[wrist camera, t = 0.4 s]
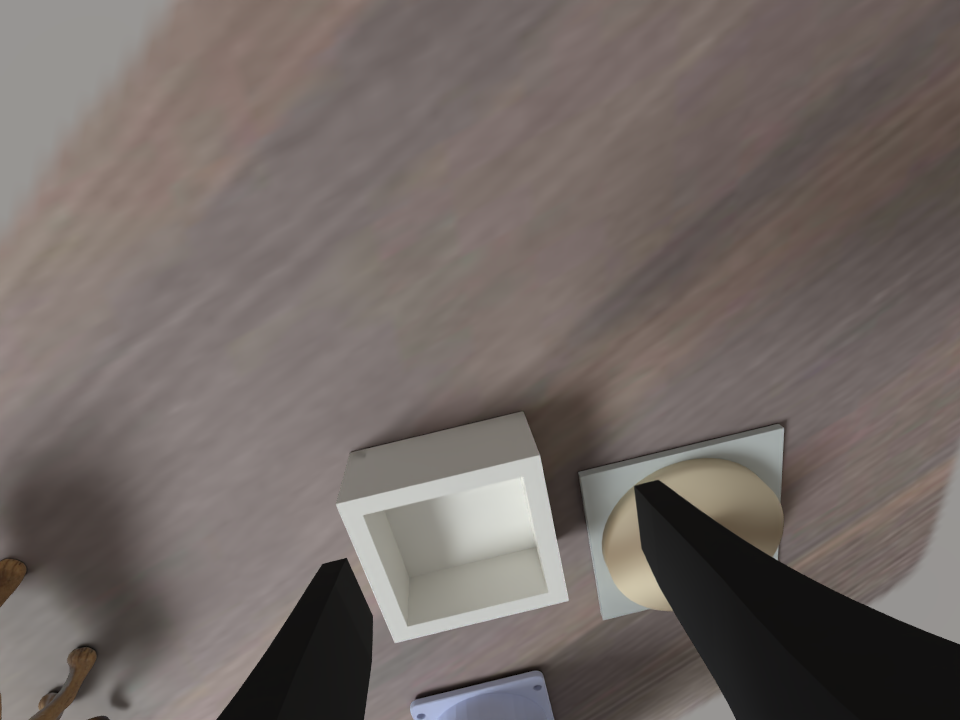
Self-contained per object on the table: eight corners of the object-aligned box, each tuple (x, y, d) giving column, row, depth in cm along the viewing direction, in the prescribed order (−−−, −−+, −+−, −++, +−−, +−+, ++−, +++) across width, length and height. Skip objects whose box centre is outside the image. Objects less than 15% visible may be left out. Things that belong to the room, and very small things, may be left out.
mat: (772, 572, 27) (776, 577, 27) (600, 614, 27) (603, 620, 27) (778, 423, 23) (784, 427, 23) (578, 472, 23) (580, 477, 23)
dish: (550, 543, 25) (568, 600, 21) (399, 580, 25) (394, 643, 21) (523, 411, 21) (539, 454, 18) (349, 452, 21) (335, 504, 18)
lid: (768, 573, 26) (839, 659, 22) (611, 611, 26) (649, 706, 22) (773, 438, 23) (859, 507, 18) (591, 482, 23) (632, 563, 18)
